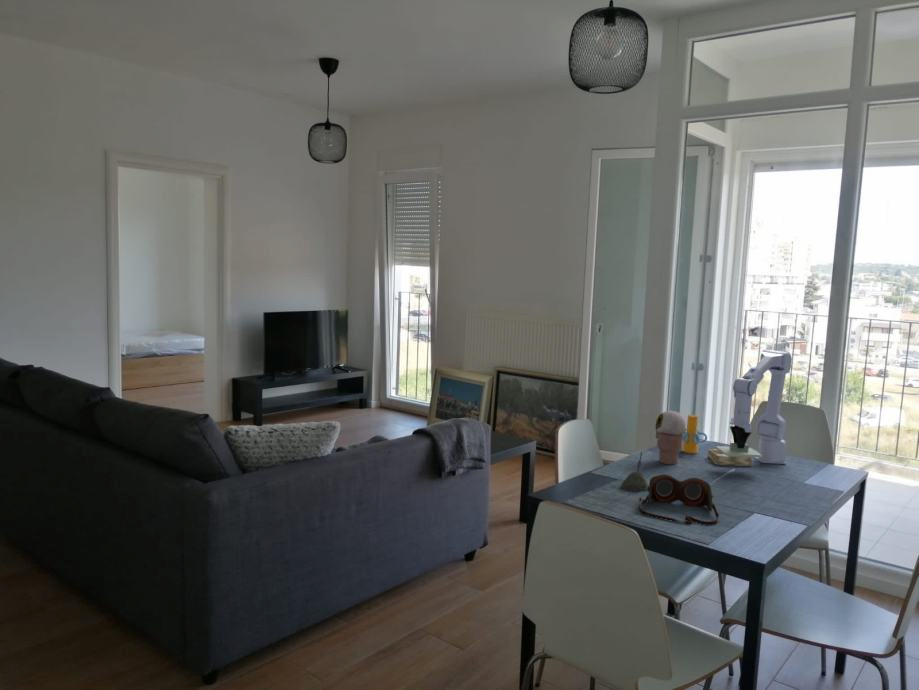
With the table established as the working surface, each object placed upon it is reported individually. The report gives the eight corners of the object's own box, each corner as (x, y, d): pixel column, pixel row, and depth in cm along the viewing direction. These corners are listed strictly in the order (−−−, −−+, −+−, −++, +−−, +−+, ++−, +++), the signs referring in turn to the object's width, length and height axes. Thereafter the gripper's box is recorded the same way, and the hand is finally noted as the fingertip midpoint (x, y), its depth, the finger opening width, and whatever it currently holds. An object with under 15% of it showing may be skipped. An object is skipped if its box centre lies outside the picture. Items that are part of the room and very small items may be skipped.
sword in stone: (637, 494, 233) (638, 458, 232) (616, 489, 238) (618, 454, 237) (653, 488, 240) (655, 453, 239) (633, 483, 245) (634, 449, 244)
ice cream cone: (647, 458, 276) (651, 408, 274) (671, 457, 280) (675, 407, 277) (663, 466, 266) (667, 414, 264) (688, 465, 270) (692, 413, 267)
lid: (750, 452, 269) (751, 441, 268) (762, 459, 258) (763, 448, 258) (715, 450, 269) (716, 439, 268) (725, 457, 258) (726, 446, 258)
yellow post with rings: (670, 447, 295) (673, 412, 293) (694, 447, 297) (697, 412, 295) (685, 456, 283) (688, 419, 281) (709, 455, 285) (712, 419, 283)
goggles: (646, 523, 206) (650, 489, 205) (625, 497, 230) (628, 467, 229) (728, 528, 207) (732, 495, 206) (699, 502, 231) (702, 472, 230)
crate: (740, 459, 282) (741, 450, 282) (750, 466, 272) (751, 457, 272) (707, 457, 282) (708, 449, 282) (716, 464, 272) (717, 455, 272)
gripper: (724, 406, 269) (720, 441, 270) (739, 414, 254) (735, 451, 256) (742, 407, 269) (739, 442, 270) (758, 415, 254) (755, 452, 256)
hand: (738, 447), depth 263 cm, fingers closed on lid, 2 cm apart
